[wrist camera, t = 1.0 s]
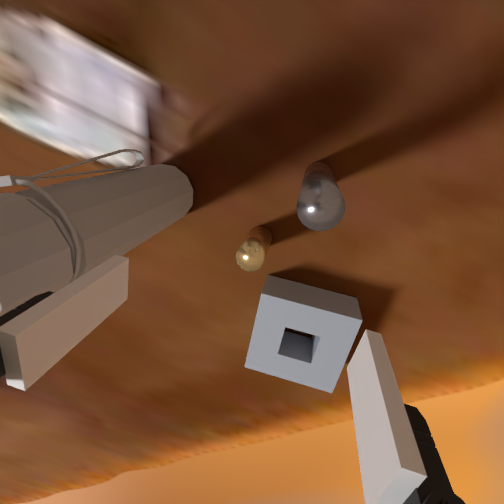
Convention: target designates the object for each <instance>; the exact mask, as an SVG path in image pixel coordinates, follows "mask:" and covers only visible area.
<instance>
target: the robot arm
mask: <svg viewBox="0 0 504 504" xmlns="http://www.w3.org/2000/svg"><path fill="white" fill-rule="evenodd" d="M128 263H129V258H126V257H122V256H119V255H114V256H113V257H111V258H110V259H108V260H106V261H105V262H103V263H102V264H100V265H98V266H97V267H95V268H94V269H92V270H90V271H89V272H87V273H86V274H84V275H82V276H81V277H79V278H78V279H76V280H74V281H73V282H71V283H69V284H68V285H66V286H65V287H63V288H61V289H60V290H58V291H57V292H55V293H54V292H51V291H48V292H45V293H42V294H39V295H36V296H34V297H32V298H31V299H29V300H27V301H26V302H24V304H21V305H19V306H17V307H16V308H15V309H12V310H10V311H9V312H7V313H5V314H4V315H2V316H0V377H2V376H3V375H4V374H5V375H6V380H7V385H10V386H13V387H15V388H18V389H21V390H24V391H25V390H27V389H28V388H29V387H30V386H31V385H32V384H33V383H34V382H36V381H37V380H38V379H39V378H40V377H41V376H42V375H43V374H44V373H46V372H47V371H48V370H49V369H50V368H51V367H52V366H53V365H54V364H56V363H57V362H58V361H59V360H60V359H61V358H62V357H63V356H64V355H66V354H67V353H68V352H69V351H70V350H71V349H72V348H73V347H75V346H76V345H77V344H78V343H79V342H80V341H81V340H82V339H83V338H85V337H86V336H87V335H88V334H89V333H90V332H91V331H92V330H93V329H95V328H96V327H97V326H98V325H99V324H100V323H101V322H102V321H103V320H105V319H106V318H107V317H108V316H109V315H110V314H111V313H112V312H114V311H115V310H116V309H117V308H118V307H119V306H120V305H121V304H122V303H124V302H125V301H126V300H127V292H128ZM347 372H348V380H349V387H350V394H351V402H352V409H353V417H354V424H355V432H356V439H357V446H358V453H359V461H360V469H361V476H362V483H363V490H364V498H365V504H465V503H464V501H463V500H462V499H461V498H459V497H458V496H457V495H456V494H454V492H453V490H452V487H451V485H450V482H449V479H448V477H447V474H446V472H445V469H444V466H443V464H442V461H441V458H440V456H439V453H438V451H437V449H436V448H435V443H434V440H433V438H432V437H431V433H430V430H429V427H428V425H427V422H426V420H425V419H424V417H423V416H422V415H421V413H420V412H419V411H418V409H417V408H416V407H413V406H410V405H407V404H404V403H403V400H402V397H401V394H400V391H399V388H398V385H397V382H396V379H395V376H394V372H393V369H392V366H391V363H390V360H389V357H388V354H387V351H386V348H385V345H384V342H383V339H382V335H381V334H380V333H377V332H374V331H370V330H367V329H366V330H365V332H364V334H363V336H362V338H361V340H360V342H359V344H358V346H357V348H356V350H355V352H354V355H353V357H352V359H351V361H350V363H349V365H348V367H347Z"/></svg>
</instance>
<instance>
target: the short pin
mask: <svg viewBox="0 0 504 504" xmlns="http://www.w3.org/2000/svg"><path fill="white" fill-rule="evenodd" d="M271 241H272V234H271V232H270V231H269V229H267V228H266V227H263V226H257V227H254V228H253V229H252V230H251V231H250V233H249V234H248V236H247V237H246V239H245V240H244V242H243V243H242V245H241V247H240V248H239V250H238V251H237V253H236V261H237V264H238V265H239V266H240V267H241V268H242V269H244V270H246V271H255V270H257V269H259V268H260V267H261V266H262V264H263V261H264V259H265V256H266V254H267V251H268V249H269V246H270V244H271Z"/></svg>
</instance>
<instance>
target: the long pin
mask: <svg viewBox="0 0 504 504" xmlns="http://www.w3.org/2000/svg"><path fill="white" fill-rule="evenodd" d="M344 212H345V202H344V199H343V196H342V194H341V192H340V190H339V187H338V185H337V183H336V180H335V178H334V176H333V174H332V171H331V169H330V167H329V166H328V165H327V164H325V163H323V162H315V163H312V164H311V165H309V166H308V168H307V169H306V172H305V175H304V179H303V183H302V187H301V191H300V195H299V199H298V203H297V215H298V217H299V219H300V221H301V222H302V223H303V225H305V226H306V227H307V228H309V229H312V230H315V231H324V230H328V229H331V228H333V227H334V226H336V225H337V224H338V223H339V222H340V220H341V219H342V217H343V215H344Z"/></svg>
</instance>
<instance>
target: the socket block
mask: <svg viewBox="0 0 504 504" xmlns="http://www.w3.org/2000/svg"><path fill="white" fill-rule="evenodd" d="M362 321H363V320H362V316H361V312H360V308H359V304H358V300H357V298H355V297H351V296H347V295H344V294H340V293H336V292H332V291H328V290H324V289H321V288H317V287H313V286H309V285H305V284H301V283H298V282H294V281H290V280H286V279H282V278H278V277H275V276H271V275H267V278H266V281H265V284H264V287H263V290H262V293H261V298H260V302H259V306H258V311H257V315H256V319H255V324H254V328H253V332H252V337H251V341H250V345H249V350H248V354H247V358H246V363H245V367H246V368H250V369H253V370H256V371H260V372H263V373H266V374H270V375H273V376H276V377H280V378H283V379H286V380H290V381H293V382H296V383H300V384H303V385H306V386H310V387H313V388H316V389H320V390H323V391H326V392H330V393H332V392H333V390H334V387H335V385H336V383H337V380H338V378H339V375H340V373H341V371H342V368H343V366H344V364H345V361H346V359H347V356H348V354H349V352H350V349H351V347H352V345H353V342H354V340H355V338H356V335H357V333H358V330H359V328H360V326H361V323H362ZM285 327H287V328H290V329H294V330H297V331H301V332H305V333H308V334H312V335H313V336H312V338H308V337H305V336H301V335H297V334H294V333H290V332H287V331H284V330H285Z"/></svg>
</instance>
